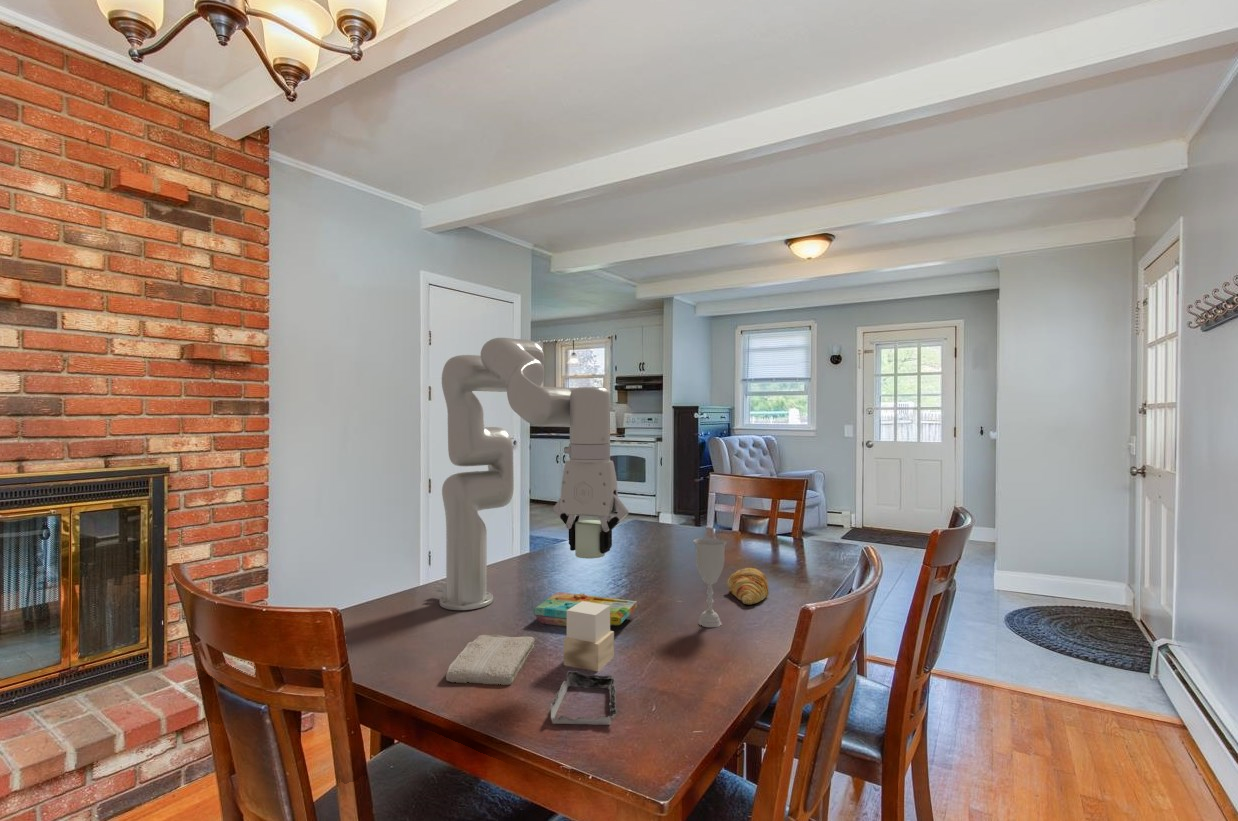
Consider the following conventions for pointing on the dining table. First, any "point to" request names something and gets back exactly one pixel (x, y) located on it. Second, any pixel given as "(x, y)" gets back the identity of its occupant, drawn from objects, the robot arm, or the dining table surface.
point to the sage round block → (588, 539)
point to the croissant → (748, 585)
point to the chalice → (709, 573)
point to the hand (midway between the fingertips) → (590, 549)
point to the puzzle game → (561, 602)
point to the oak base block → (589, 652)
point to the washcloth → (490, 660)
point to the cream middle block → (588, 621)
